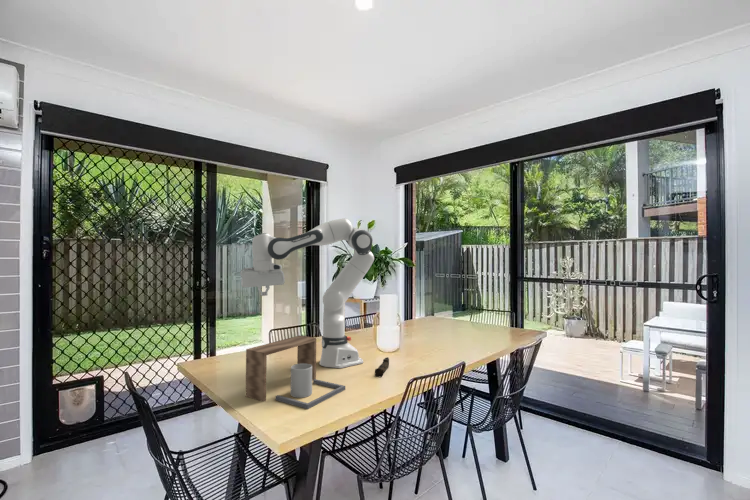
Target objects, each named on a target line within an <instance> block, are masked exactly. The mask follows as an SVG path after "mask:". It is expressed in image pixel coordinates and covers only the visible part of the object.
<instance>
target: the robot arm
mask: <svg viewBox="0 0 750 500" xmlns="http://www.w3.org/2000/svg"><path fill="white" fill-rule="evenodd" d="M341 241H346V244H347V245H348V246H349V247H350V248H352V249H353V251H354V252H353V255H352V256H351V257H350V259H349V260H348V261H347V263H346V265H344V267H343V268H342V269H341V270H340V272H339V273H338V274H337V276H336V277H335V279H334V280H333V282H332V283H331V284H330V285H329V287H328V288H327V289H326V290H325V291H324V294H323V296H322V304H323V314H322V315H323V316H322V336H321V347H322V349H321V357H320V361H319V364H318V365H320V366H322V367H324V368H336V369H343V368H348V367H353V366H356V365H359V364H360V365H361V364H363V363H364V360H363V358H361V357H360V356H359V351H358V349H357V348H356V347H354V346H353V345H352V344H351V343H349V342H351V340H352V337H351V336H348V335H345V333H346V332H345V330H346V329H345V325H346V324H345V321H346V317H345V313H346V312H345V311H346V309H345V307H346V302H347V301H348V299H349V298H350V297H351V295H352V294H353V292H354V291H355V289H356V288H357V286H358V285H359V284H360V282H361V281H362V280H363V278H364V277H365V276H366V274H367V273H368V271H369V270H370V268H371V267H372V265H373V264H374V261H375V255H374V254H373V252H372V246H373V236H372V234H371V233H370V232H369V231H367V230H365V229H363V228H357V227H354V226H353V224H352V223H351V220H349V219H348V218H346V217H345V218H338V219H332V220H329V221H326V222H324V223H321V224H319V225H317V226H315V227H314V228H312V229H310V230H309V231H307V232H305V233H301V234H298V235H297V234H296V235H294V236H291V237H288V238H287V237H285V238H284V237H275V236H273V235H271V234H270V233H268V232H264V233H258V234H255V236H253V238H252V255H253V258H252V267H244V268H242V269H241V270H240V272H239V273H240V277H241V282H240V284H241V285H240V286H241V287H242V288H256V287H257V290H258V291H259V295H260V296H261V297H265V296H268V292H269V290H270V286H282V285H283V286H284V285H285V283H286V278H285V273H284V271H283V266H282V265H281V264H277V263H275V262H274V263H273V259H274V260H284V259H287V258H288V257H289V256H290V254H291V253H292V252H295V251H297V250H301V249H303V248H307V247H310V246H322V247H323V246H327V245H332V244H334V243H338V242H341ZM263 287H265V291H262V288H263Z"/></svg>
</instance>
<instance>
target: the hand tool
mask: <svg viewBox="0 0 750 500" xmlns="http://www.w3.org/2000/svg"><path fill="white" fill-rule="evenodd" d="M389 366H390V358H389V357H387V356H386V357H385V358H383V360H382V363H381V364H380V365H379V366H378V367H377V368H375V370H374V375H375V376H376V377H379V376H381V377H383V375H384V373H385V372H386V371H387V368H388V369H389Z"/></svg>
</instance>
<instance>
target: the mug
mask: <svg viewBox="0 0 750 500" xmlns="http://www.w3.org/2000/svg"><path fill="white" fill-rule="evenodd" d="M289 394H290V397H293V398H295V399H296V398H297V399H298V398H299V399H302V398H307V397H310V396H312V394H313V380H312V365H310V364H304V363H303V364H297V363H296V364H293V365H291V366H290V393H289Z"/></svg>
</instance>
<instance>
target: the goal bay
mask: <svg viewBox="0 0 750 500" xmlns="http://www.w3.org/2000/svg"><path fill="white" fill-rule="evenodd" d="M312 384H314V385H318V386H323V387H328V388H331V389H333V390H331V391H329V392H327V393H325V394H323V395H321V396H319V397H317V398H315V399H314V400H313V399H312V400H311V401H309V402H305V401H301V400H298V399H294V398H290V397H286V396H283V395H278V394H277V395H275V401H278V402H281V403H285V404H289V405H291V406H292V405H293V406H295V407H299V408H301V409H302V408H303V409H306V410H309V409H311V408H314V407H315V406H316V405H318V404H320V403H322V402H325V401H326V400H328V399H330V398H332V397H334V396H336V395H338V394H340V393H342V392H343V391H346V385H342V384H338V383H333V382H329V381H325V380H320V379H318V378H316V379H314V380H312Z"/></svg>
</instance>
